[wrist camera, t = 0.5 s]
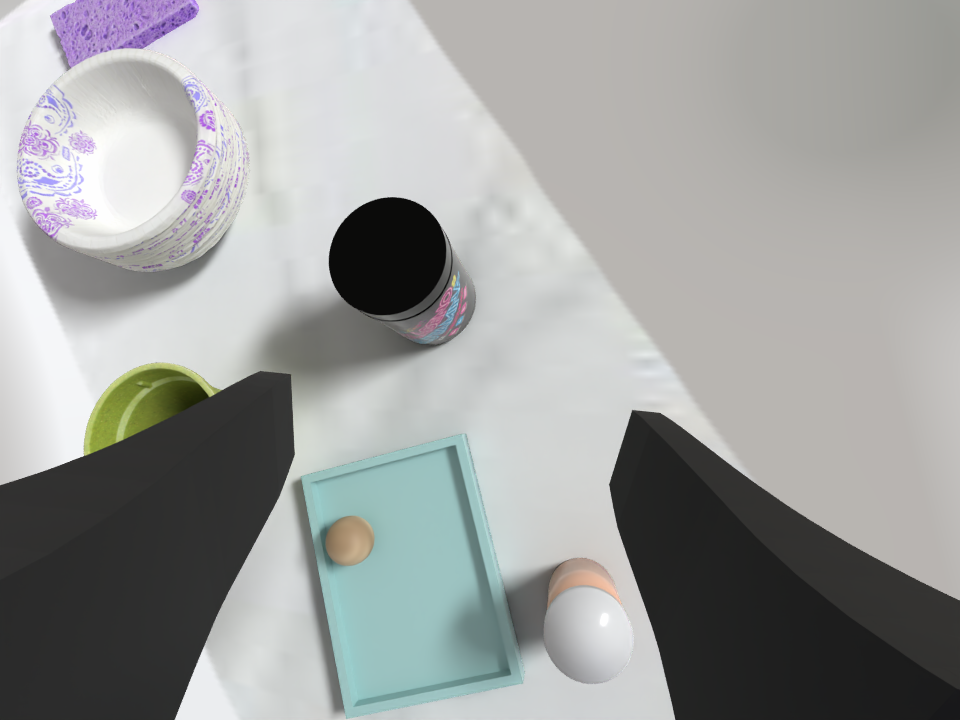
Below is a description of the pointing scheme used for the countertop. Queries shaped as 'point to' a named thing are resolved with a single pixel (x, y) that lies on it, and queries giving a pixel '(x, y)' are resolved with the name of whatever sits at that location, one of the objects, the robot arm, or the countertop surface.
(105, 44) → the sponges
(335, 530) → the ball
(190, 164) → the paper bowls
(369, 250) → the supplement container
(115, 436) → the plant pot
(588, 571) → the shaker
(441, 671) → the tray
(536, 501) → the countertop surface
